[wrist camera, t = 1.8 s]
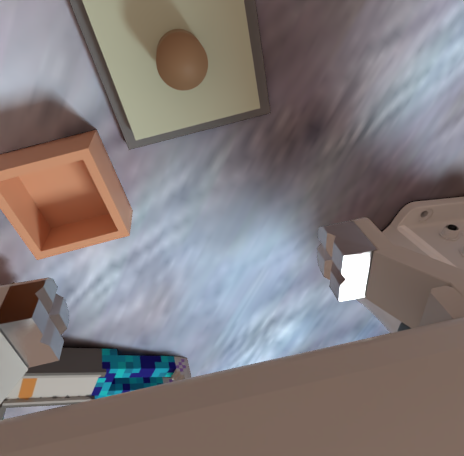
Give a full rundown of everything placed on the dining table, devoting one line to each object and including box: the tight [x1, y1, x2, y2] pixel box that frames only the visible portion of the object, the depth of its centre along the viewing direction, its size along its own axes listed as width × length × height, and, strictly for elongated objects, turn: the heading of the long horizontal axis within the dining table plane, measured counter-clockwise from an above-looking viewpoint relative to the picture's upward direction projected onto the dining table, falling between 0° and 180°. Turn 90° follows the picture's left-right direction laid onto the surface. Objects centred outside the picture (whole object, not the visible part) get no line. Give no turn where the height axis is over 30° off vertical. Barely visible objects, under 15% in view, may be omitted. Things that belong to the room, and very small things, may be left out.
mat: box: [69, 0, 270, 150], centre depth 26 cm, size 12×12×1 cm
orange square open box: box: [0, 129, 133, 260], centre depth 29 cm, size 8×8×4 cm
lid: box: [82, 0, 260, 140], centre depth 24 cm, size 10×10×4 cm
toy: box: [0, 283, 191, 420], centre depth 41 cm, size 26×8×30 cm
